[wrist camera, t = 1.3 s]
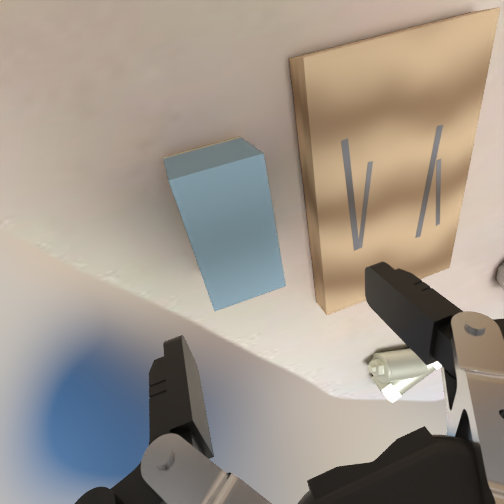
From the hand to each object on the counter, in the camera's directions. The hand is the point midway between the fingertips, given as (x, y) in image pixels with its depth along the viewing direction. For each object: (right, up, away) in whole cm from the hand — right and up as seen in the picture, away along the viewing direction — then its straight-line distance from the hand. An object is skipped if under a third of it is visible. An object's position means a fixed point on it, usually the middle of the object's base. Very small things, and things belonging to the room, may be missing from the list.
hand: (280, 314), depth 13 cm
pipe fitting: (+16, -10, +26) cm, 32 cm away
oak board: (+9, +8, +12) cm, 17 cm away
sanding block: (-4, +6, +9) cm, 11 cm away
